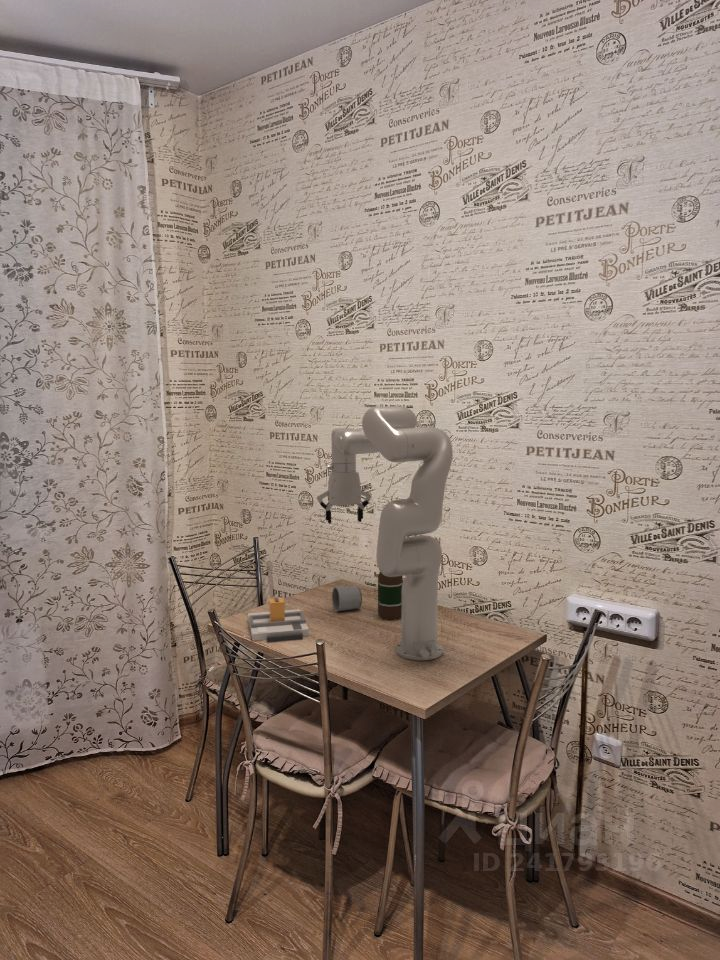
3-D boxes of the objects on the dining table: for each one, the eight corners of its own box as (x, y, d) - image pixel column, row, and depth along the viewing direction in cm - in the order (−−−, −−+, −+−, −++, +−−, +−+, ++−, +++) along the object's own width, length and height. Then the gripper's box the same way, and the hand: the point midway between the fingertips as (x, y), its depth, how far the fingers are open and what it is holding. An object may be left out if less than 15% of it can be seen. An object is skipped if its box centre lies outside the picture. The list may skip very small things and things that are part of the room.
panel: (308, 635, 195) (308, 625, 195) (252, 641, 191) (251, 630, 191) (300, 615, 212) (299, 606, 212) (248, 619, 209) (247, 610, 208)
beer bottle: (401, 621, 206) (401, 543, 203) (376, 620, 207) (375, 543, 204) (404, 612, 214) (404, 538, 210) (379, 611, 215) (379, 537, 212)
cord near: (302, 639, 192) (302, 634, 192) (267, 642, 190) (267, 637, 190) (302, 637, 194) (302, 632, 194) (266, 640, 192) (266, 635, 191)
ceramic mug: (363, 611, 216) (363, 587, 215) (339, 614, 213) (339, 590, 212) (351, 602, 226) (350, 579, 225) (328, 605, 222) (327, 582, 222)
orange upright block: (284, 621, 200) (284, 601, 199) (271, 623, 199) (270, 602, 198) (283, 617, 204) (282, 596, 203) (269, 618, 203) (269, 597, 202)
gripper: (317, 470, 208) (318, 525, 210) (373, 468, 211) (373, 523, 213) (314, 467, 215) (315, 520, 217) (368, 465, 218) (368, 518, 220)
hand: (344, 521), depth 215 cm, fingers open, 9 cm apart
